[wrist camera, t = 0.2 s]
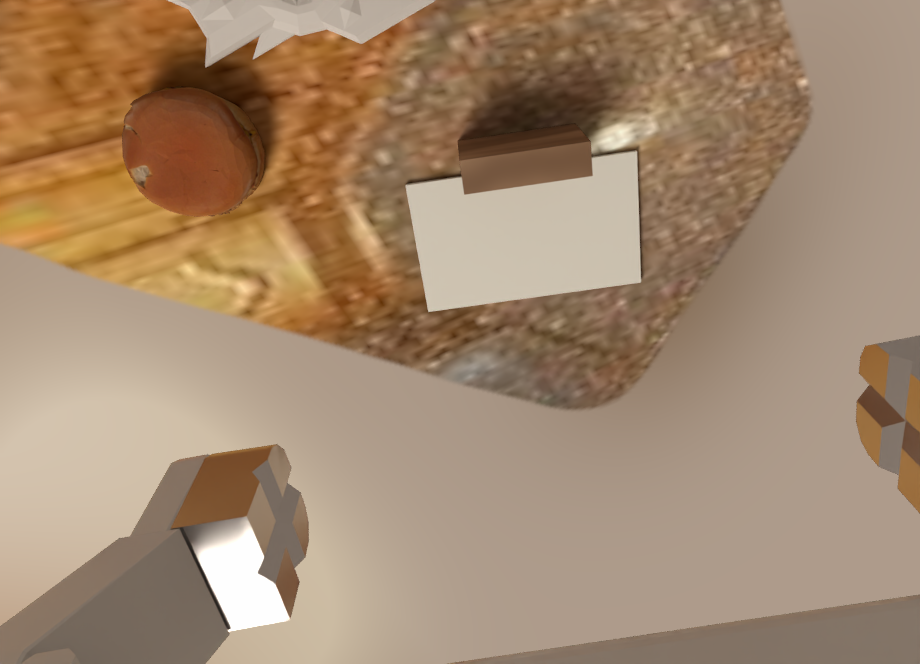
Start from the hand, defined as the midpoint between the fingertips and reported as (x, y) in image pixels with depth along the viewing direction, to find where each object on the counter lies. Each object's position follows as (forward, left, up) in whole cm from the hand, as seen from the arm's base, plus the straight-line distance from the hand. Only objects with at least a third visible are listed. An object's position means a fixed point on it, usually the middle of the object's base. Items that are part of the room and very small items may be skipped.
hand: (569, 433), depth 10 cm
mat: (+14, +3, -47) cm, 49 cm away
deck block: (+7, +3, -47) cm, 48 cm away
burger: (+3, -21, -47) cm, 52 cm away
